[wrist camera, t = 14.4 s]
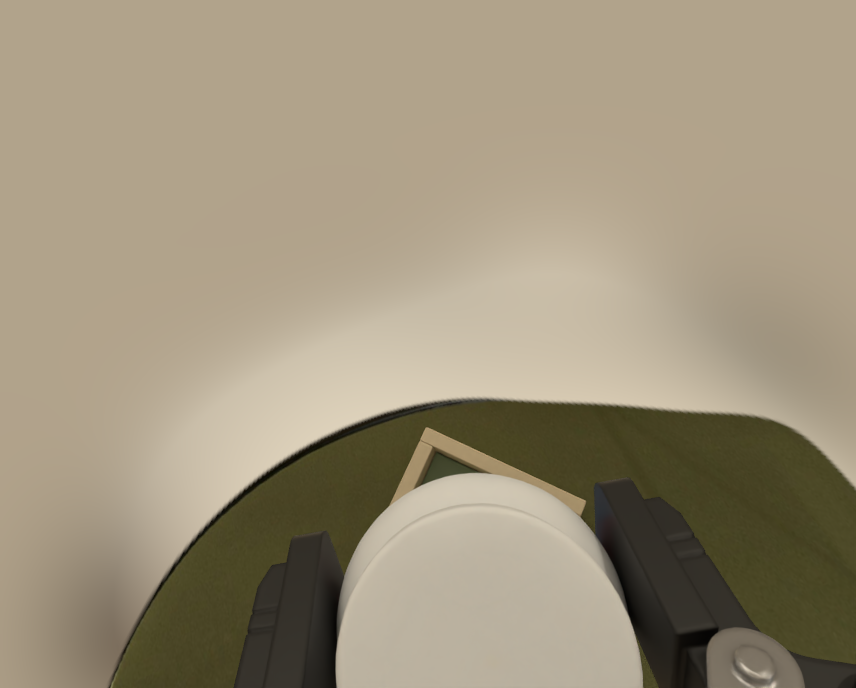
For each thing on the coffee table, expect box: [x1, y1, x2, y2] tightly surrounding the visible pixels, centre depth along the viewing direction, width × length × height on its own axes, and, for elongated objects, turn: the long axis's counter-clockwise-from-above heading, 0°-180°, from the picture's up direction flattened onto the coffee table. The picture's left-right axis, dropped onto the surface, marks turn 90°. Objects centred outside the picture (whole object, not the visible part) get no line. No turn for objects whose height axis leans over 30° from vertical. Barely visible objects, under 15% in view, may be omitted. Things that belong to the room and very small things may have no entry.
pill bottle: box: [336, 473, 643, 688], centre depth 13 cm, size 6×6×11 cm
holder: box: [390, 427, 586, 517], centre depth 28 cm, size 17×9×4 cm, turn 155°
